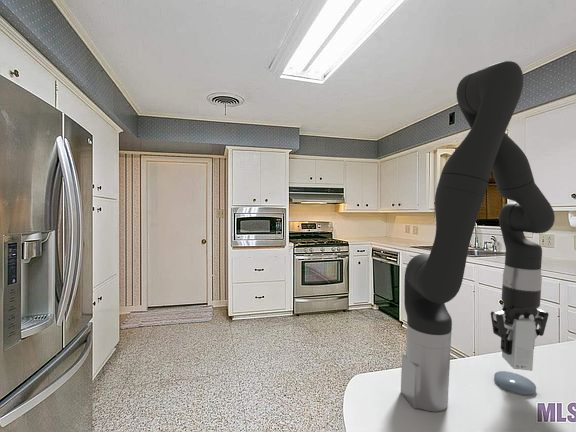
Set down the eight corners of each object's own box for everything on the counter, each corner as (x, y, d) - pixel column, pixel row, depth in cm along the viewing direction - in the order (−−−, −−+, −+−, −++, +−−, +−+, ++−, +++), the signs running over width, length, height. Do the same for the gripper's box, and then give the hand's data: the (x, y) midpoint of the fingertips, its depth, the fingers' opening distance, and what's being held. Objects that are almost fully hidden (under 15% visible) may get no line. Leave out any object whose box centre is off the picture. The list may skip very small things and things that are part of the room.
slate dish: (513, 397, 73) (513, 393, 73) (486, 376, 81) (486, 372, 81) (545, 394, 74) (545, 390, 74) (514, 373, 82) (515, 370, 82)
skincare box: (533, 371, 74) (536, 322, 73) (513, 369, 75) (515, 320, 74) (519, 358, 80) (522, 312, 79) (501, 356, 81) (503, 311, 80)
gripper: (507, 290, 71) (503, 362, 72) (562, 288, 73) (557, 358, 74) (482, 281, 78) (479, 346, 80) (533, 279, 80) (529, 343, 82)
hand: (517, 352), depth 77 cm, fingers closed on skincare box, 5 cm apart
